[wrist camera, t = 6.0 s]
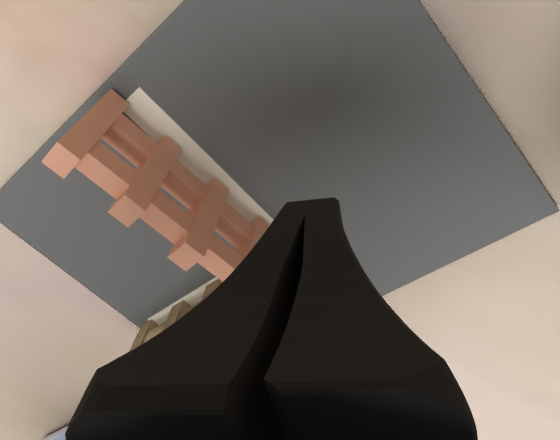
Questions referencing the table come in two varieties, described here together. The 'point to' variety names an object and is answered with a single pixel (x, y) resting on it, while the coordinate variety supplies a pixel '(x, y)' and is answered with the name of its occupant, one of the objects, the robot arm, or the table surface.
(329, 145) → the mat
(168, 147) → the fence panel
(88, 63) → the table surface
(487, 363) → the table surface
